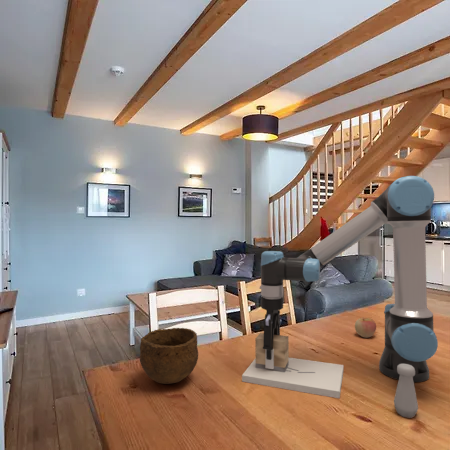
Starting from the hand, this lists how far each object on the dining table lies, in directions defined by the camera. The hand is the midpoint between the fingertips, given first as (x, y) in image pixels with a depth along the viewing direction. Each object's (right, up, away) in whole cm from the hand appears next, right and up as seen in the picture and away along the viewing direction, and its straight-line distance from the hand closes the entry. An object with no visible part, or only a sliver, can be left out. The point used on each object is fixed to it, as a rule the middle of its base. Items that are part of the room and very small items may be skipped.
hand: (272, 364), depth 119 cm
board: (+7, -3, -3) cm, 8 cm away
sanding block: (0, -1, 0) cm, 1 cm away
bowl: (-34, -3, -6) cm, 35 cm away
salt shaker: (+32, -3, -26) cm, 41 cm away
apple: (+46, -2, +36) cm, 59 cm away
